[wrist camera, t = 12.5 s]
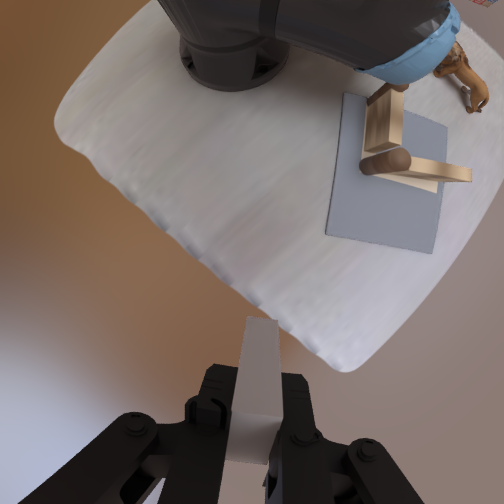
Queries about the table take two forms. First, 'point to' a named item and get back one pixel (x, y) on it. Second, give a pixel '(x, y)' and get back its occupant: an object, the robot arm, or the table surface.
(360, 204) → the card
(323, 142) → the table surface
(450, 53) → the lion figurine
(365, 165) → the fence post and fixed section
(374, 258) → the table surface
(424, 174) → the hinged fence panel
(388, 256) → the table surface
